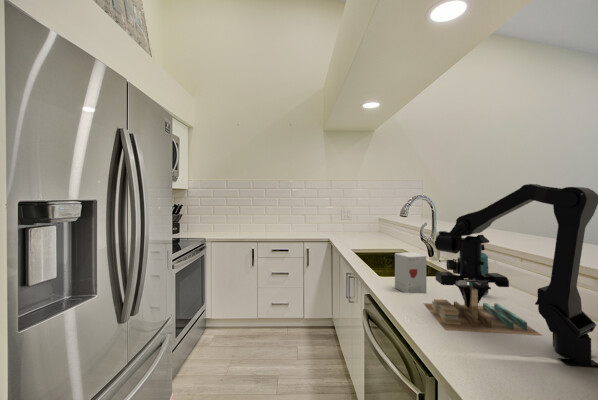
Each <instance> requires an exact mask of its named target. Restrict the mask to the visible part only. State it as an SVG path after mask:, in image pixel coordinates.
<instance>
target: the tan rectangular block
mask: <svg viewBox="0 0 598 400" xmlns="http://www.w3.org/2000/svg"><path fill="white" fill-rule="evenodd" d="M467 286H469V287H470V305H469V307H467V306H466V304H465V302H464V301H463V303H464V304H463V305H464V308H465V309H466V310H467V311H468V312H470V313H471V314H472V315H473V316H474V317H476V318H477V319H478V306H479V303H478V290H477V289H475V288H473V287H472V286H470V285H469V284H467Z"/></svg>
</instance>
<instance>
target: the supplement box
mask: <svg viewBox="0 0 598 400" xmlns="http://www.w3.org/2000/svg"><path fill="white" fill-rule="evenodd" d="M394 288H395V289H397V290H398V291H400V292H403V293H405V294H406V293H407V294H426V293H427V255H425V254H422V253H418V252H416V251H415V252H414V251H412V252H411V251H408V252H404V251H403V252H395V253H394Z"/></svg>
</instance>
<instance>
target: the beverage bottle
mask: <svg viewBox="0 0 598 400" xmlns="http://www.w3.org/2000/svg"><path fill="white" fill-rule="evenodd" d="M481 251H485V244H484V243H481ZM481 253H482V261H483V262H484V265H482V275H484V276H485V274H486V273H490V272H489V260H488V259H489V256H488V255H487V254H486V253H484V252H481ZM468 285H470V286H472V283H471V282H468ZM489 285H490V284H489V283H488V286H489ZM472 287H473V286H472ZM489 287H490V286H489ZM486 295H489V289H488V290H487V291H486V293H485V294H484V295H483V296H486Z"/></svg>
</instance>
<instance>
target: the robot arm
mask: <svg viewBox="0 0 598 400" xmlns="http://www.w3.org/2000/svg"><path fill="white" fill-rule="evenodd" d="M534 201H535V202H539V203H543V204H547V205H551V206H552V207H553V214H554V217H555V219H556V222H557V231H556V238H555V248H554V252H553V253H554V255H553V261H552V267H551V276H550V282H549V284H548V285H546V286H543V287H539V288H537V300H536V302H535V303H534V305H536V306H537V310H538V313H539V314H540V315H541V316H542V318H543V319H544V320H545V322H546V325H547V328H548V330H549V332H551V333H552V347H553V348H554V352H555V353H556V354H558V355H559V356H561V357H563V358H560V357H558V358H557V359H558V360H560V361H561V362H563V363H564V364H565V365H567V366H577V367H590V368H591V367H593V368H594V367H595V368H598V362H596V361H595V360H593V359H592V338H591V337H590V335H589V334H590V333H593V331H594V330H595V328H596V326H597V324H596V323H595V322H594V321H593V320H592V319H591V318H590V317H589V316H588V315H587V314H586V313H585V311H583V308H582V297H581V295H580V293H579V290H578V278H579V273H580V266H581V259H582V252H583V245H584V240H585V239H584V238H585V232H586V227H587V225H588V224H589V222H590V221H591V219H592V217H593V216H594V214H595V212H596V210H597V207H598V193H596V192H595V190H593V189H591V188H589V187H584V186H582V187H581V186H566V187H563V188H562V187H561V188H560V187H559V188H558V187H551V186H545V185H540V184H538V183H536V184H535V183H527V184H524V185H521V186H520V188H518V189H516V190H515V191H512V192H511V193H509V194H508V195H506V196H504V197H502V198H500V199H498V200H496V201H495V202H492V203H491V204H490V205H488V206H486V207H484V208H482V209H479V210H476V211H473V212H469V213H467V214H463V215H461V216H458V217H457V218H456V220H455V225H454V226H453V227H452V228H451V230H450V231H446V230H441V231H440V230H439V231H438V235H437V236H436V238H435V240H434V246H435V249H436V250H437V251H438V252H444V253H451V254H458V253H459V257H457V262H455V260H454V259H447V260H446V262H445V263H446V265H445V266H446V269H447V271H437V272H436V273H435V281H436V282H438V283H439V284H440V285H442V286H456V287H457V288H458V289H459V292H460V294H461V296H462V299H463V303H464V302H465V304H466V306H467V307H469V305H470V287H469V286H467V285H468V283H469V282H471V283H472V286H473V288H475V289H477V290H478V304H479V303H480V301H481V300H482V299H483V296H485V295H484V294H485V293H486V291H487V290H488V291H489V290H492V287H490V286H488V284H489V283H492V284H493V283H494V284H495V286H496V287H498V288H509V287H510V280H509V279H508V277H507V276H505V275H503V274H500V273H498V272H488V273H486V274H485V276H484V275H482V265H484V262H483V261H482V253H483V252H482V250H481V244H488V243H490V240H489V239H488V238H487V237H485V236H484V234H482V232H483V231H485V230H486V229H488V228H489V227H490V226H491V225H492V224H493V223H494V222H495V221H497V220H499V219H500V218H502V217H504V216H506V215H508V214H511V213H512V212H515V211H516V210H519V209H520V208H522V207H524V206H526V205H528V204H530V203H532V202H534ZM480 233H481V234H480ZM475 234H477V235H476V236H475ZM450 271H452V272H450ZM455 274H456V275H455Z"/></svg>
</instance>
